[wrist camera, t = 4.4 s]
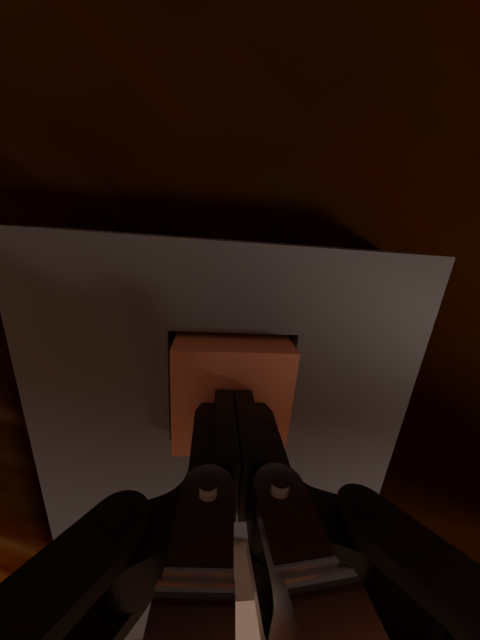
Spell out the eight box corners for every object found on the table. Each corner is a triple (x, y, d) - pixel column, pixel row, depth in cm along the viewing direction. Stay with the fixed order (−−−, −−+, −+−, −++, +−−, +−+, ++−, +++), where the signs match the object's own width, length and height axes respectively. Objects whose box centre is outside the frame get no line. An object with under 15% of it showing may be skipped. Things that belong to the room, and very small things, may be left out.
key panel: (381, 250, 15) (455, 257, 11) (313, 543, 23) (338, 621, 19) (62, 227, 13) (-21, 223, 9) (107, 554, 22) (77, 644, 17)
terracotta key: (277, 321, 14) (300, 353, 10) (267, 400, 15) (284, 454, 12) (182, 317, 13) (169, 350, 9) (183, 399, 15) (171, 456, 11)
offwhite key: (258, 516, 17) (271, 599, 13) (252, 566, 18) (261, 653, 14) (180, 519, 16) (169, 607, 12) (180, 570, 18) (171, 662, 14)
